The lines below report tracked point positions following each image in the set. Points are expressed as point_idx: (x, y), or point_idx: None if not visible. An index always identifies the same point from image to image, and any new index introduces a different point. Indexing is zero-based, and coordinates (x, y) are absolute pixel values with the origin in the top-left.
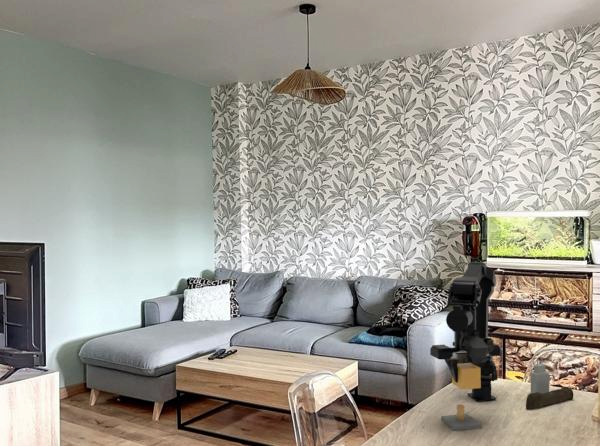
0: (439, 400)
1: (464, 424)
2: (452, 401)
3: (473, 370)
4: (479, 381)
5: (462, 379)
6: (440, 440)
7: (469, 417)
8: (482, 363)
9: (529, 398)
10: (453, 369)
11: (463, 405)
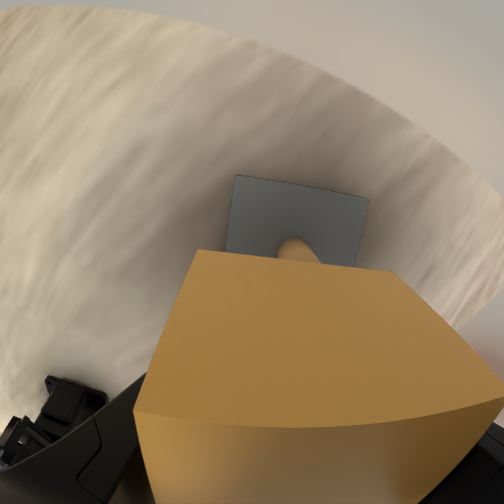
0: None
1: (311, 203)
2: None
3: (316, 393)
4: (203, 276)
5: (433, 315)
6: (447, 148)
7: None
8: (40, 481)
9: None
10: (499, 427)
11: None
